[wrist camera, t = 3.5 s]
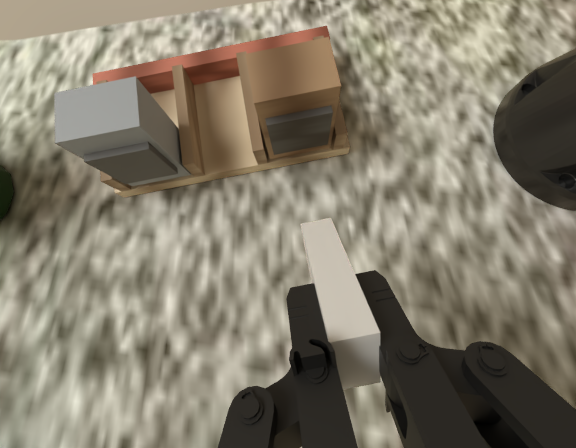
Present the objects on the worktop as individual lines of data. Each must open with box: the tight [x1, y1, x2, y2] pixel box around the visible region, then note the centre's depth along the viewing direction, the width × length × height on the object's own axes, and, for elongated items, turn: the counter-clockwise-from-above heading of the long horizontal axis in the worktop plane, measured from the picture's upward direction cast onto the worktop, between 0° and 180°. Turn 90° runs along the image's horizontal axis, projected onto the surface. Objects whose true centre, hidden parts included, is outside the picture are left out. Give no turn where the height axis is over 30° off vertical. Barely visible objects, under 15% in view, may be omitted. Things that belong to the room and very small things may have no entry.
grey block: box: [55, 76, 191, 186], centre depth 24 cm, size 6×5×9 cm
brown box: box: [245, 37, 341, 159], centre depth 24 cm, size 6×5×9 cm
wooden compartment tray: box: [93, 26, 350, 197], centre depth 29 cm, size 24×12×4 cm, turn 100°
